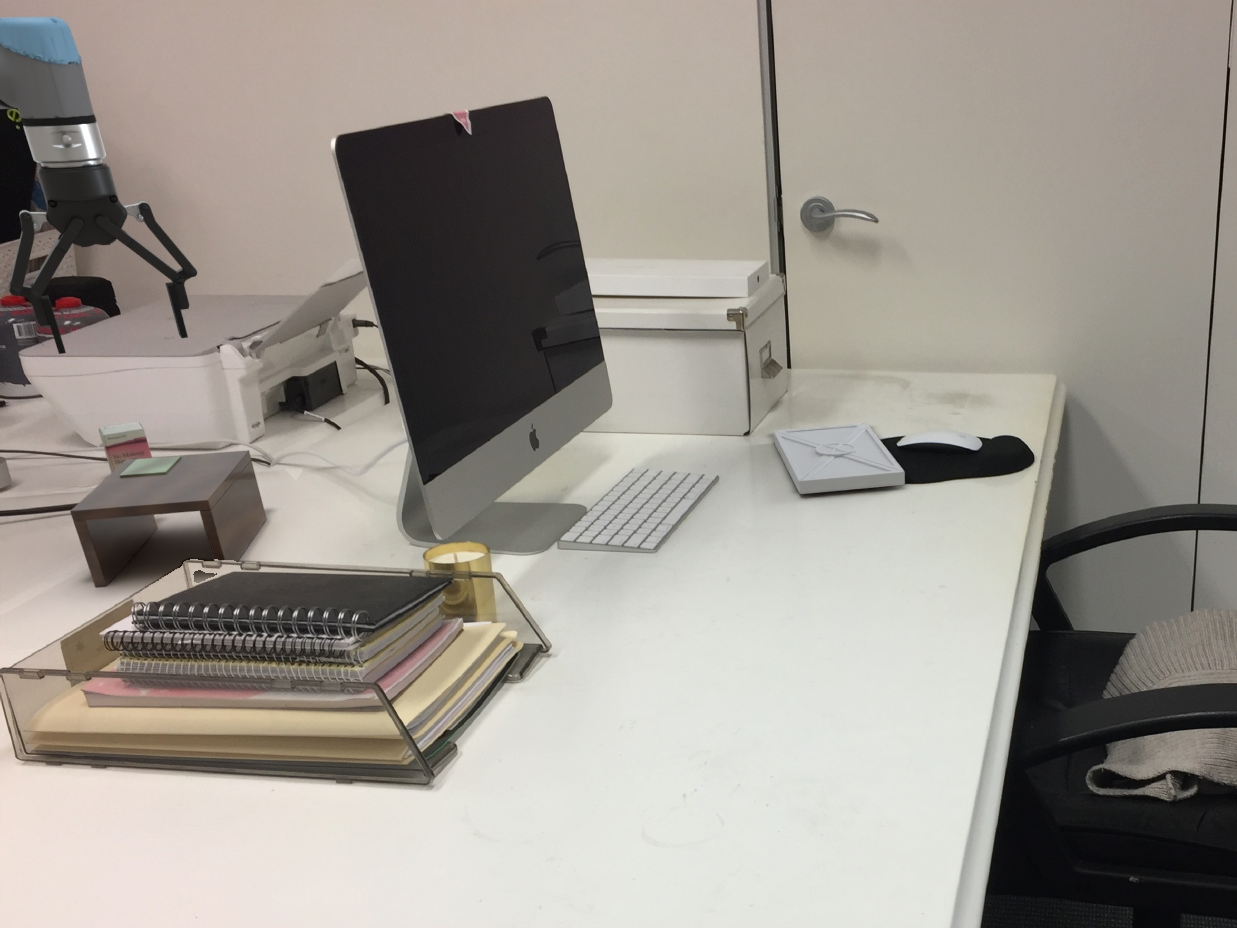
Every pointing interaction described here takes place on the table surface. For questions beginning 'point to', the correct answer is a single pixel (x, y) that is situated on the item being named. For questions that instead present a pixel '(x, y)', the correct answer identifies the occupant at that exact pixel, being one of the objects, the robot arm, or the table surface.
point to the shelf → (169, 507)
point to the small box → (124, 443)
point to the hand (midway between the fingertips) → (124, 344)
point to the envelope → (837, 458)
